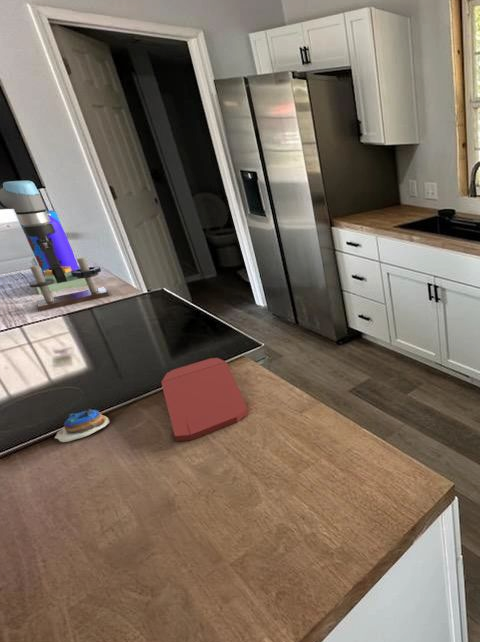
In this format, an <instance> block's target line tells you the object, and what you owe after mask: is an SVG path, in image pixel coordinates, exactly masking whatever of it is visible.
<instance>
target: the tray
mask: <svg viewBox="0 0 480 642" xmlns="http://www.w3.org/2000/svg"><path fill="white" fill-rule="evenodd" d="M64 274H65V276H66V279H67V282H62V283H57V281H56V279H55V277H54V275H53V276H44V278H45V279H53V280H54V283H53V284H50V285H48V287H49V289H50V291H51V293H52V292H57V291H63V290H67V289H73V288H77V287H82V286H88V285H87V282H86V280H85V278H81V279H80V278H77V277H73V276H72V274H71V272H69V273H64ZM34 281H36V279H35V278H34ZM35 288H36V290H37V292H38V294H39V295H43V294H42V292H41V290H40V288H39V287H35Z"/></svg>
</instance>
